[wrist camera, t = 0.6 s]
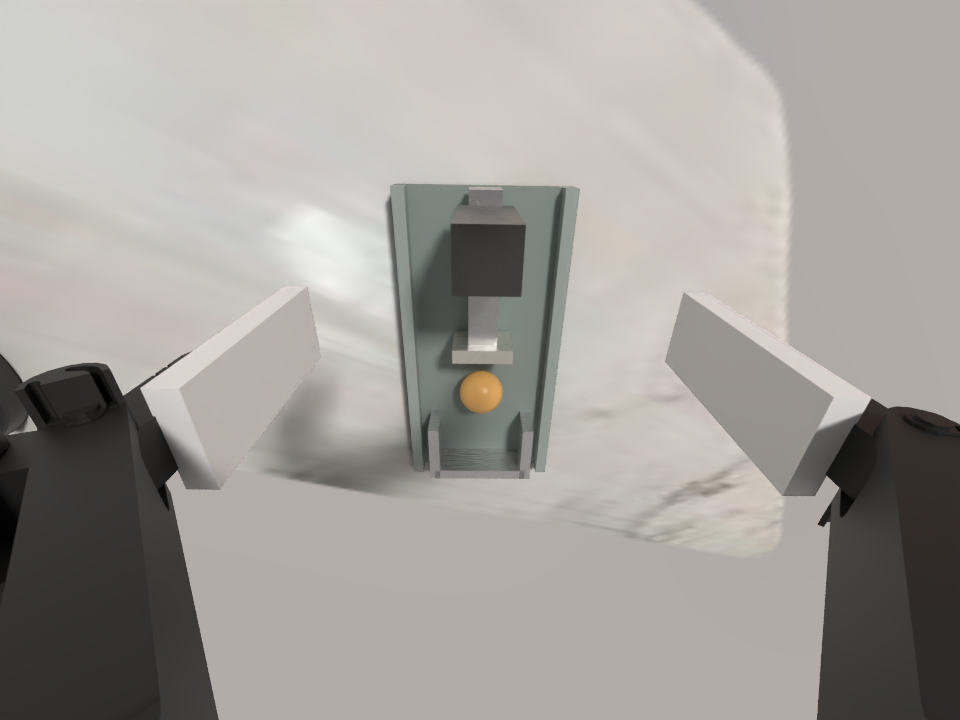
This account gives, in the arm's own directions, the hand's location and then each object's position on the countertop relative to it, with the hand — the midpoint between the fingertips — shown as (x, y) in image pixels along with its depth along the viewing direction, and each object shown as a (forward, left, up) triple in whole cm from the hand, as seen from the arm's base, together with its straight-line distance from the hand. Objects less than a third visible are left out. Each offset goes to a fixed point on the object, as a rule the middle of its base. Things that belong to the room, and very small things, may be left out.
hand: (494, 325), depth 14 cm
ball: (0, -14, -18) cm, 23 cm away
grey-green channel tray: (0, -11, -21) cm, 23 cm away
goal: (0, -21, -21) cm, 29 cm away
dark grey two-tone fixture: (0, -4, -20) cm, 20 cm away
